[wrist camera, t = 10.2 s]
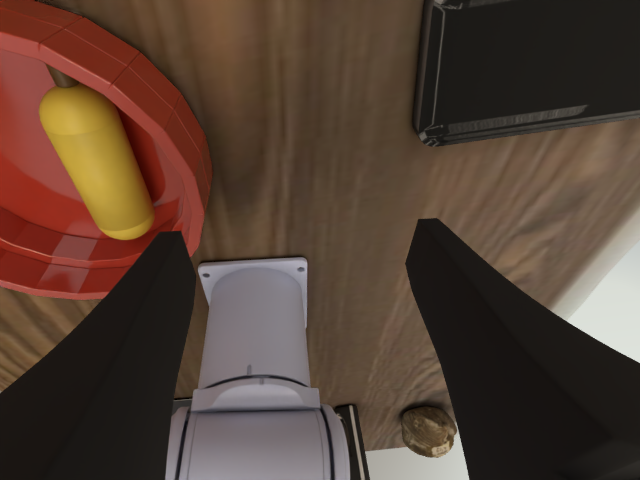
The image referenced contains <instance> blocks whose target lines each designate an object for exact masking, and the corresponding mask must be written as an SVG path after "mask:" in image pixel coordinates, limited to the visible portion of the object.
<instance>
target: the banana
mask: <svg viewBox="0 0 640 480" xmlns="http://www.w3.org/2000/svg"><path fill="white" fill-rule="evenodd" d="M45 64H46V63H45ZM46 67H47V69H48V71H49V73H50V75H51V77H52V79H53V81H54V83H55V85H56V86H54V87H52V88H51V89H50V90H48V91H47V92H46V93H45V95H44V96H43V97H42V99H41V102H40V105H39V117H40V121H41V124H42V126H43V128H44V130H45V132H46V134H47V136H48V138H49V139H50V141H51V143H52V145H53V147H54V149H55V150H56V152H57V154H58V156H59V158H60V159H61V161H62V163H63V165H64V167H65V169H66V170H67V172H68V174H69V176H70V178H71V180H72V181H73V183H74V185H75V187H76V189H77V190H78V192H79V194H80V196H81V198H82V200H83V201H84V203H85V205H86V207H87V209H88V210H89V212H90V214H91V216H92V218H93V220H94V221H95V223H96V225H97V226H98V228H99V229H100V230H101V231H102V232H104V233H105V234H106V235H108V236H110V237H112V238H115V239H119V240H130V239H135V238H138V237H140V236H142V235H143V234H145V233H146V232H147V231H148V230H149V229H150V228H151V226H152V224H153V221H154V218H155V210H154V206H153V203H152V200H151V198H150V195H149V192H148V190H147V187H146V185H145V182H144V179H143V177H142V174H141V171H140V169H139V166H138V163H137V161H136V158H135V156H134V153H133V150H132V148H131V145H130V142H129V140H128V137H127V134H126V132H125V129H124V127H123V124H122V121H121V119H120V116H119V113H118V111H117V109H116V107H115V105H114V104H113V103H112V101H111V100H110V99H108V98H107V97H106V96H105V95H103V94H102V93H100V92H98V91H96V90H94V89H92V88H90V87H89V86H87V85H85V84H82V83H80V82H79V81H77V80H76V79H74V78H72V77H70V76H68V75H66V74H64V73H63V72H61V71H59V70H57V69H55V68H53V67H51V66H50V65H48V64H46Z"/></svg>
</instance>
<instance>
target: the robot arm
mask: <svg viewBox="0 0 640 480" xmlns="http://www.w3.org/2000/svg"><path fill="white" fill-rule="evenodd" d="M405 264H406V269H407V273H408V277H409V281H410V285H411V289H412V292H413V295H414V297H415V300H416V303H417V305H418V308H419V310H420V313H421V315H422V318H423V320H424V323H425V325H426V328H427V330H428V333H429V335H430V338H431V340H432V343H433V345H434V348H435V350H436V353H437V356H438V358H439V361H440V364H441V367H442V371H443V374H444V378H445V381H446V385H447V388H448V392H449V395H450V399H451V403H452V407H453V410H454V414H455V418H456V422H457V426H458V430H459V434H460V438H461V443H462V447H463V452H464V456H465V460H466V464H467V470H468V475H469V480H640V363H638V362H637V361H635V360H633V359H631V358H629V357H627V356H625V355H623V354H621V353H619V352H618V351H616V350H614V349H612V348H610V347H609V346H607V345H605V344H603V343H602V342H600V341H598V340H596V339H595V338H593V337H591V336H590V335H588V334H586V333H585V332H583V331H581V330H580V329H578V328H576V327H575V326H573V325H571V324H570V323H568V322H567V321H565V320H563V319H562V318H560V317H559V316H557V315H556V314H554V313H553V312H551V311H550V310H548V309H547V308H546V307H544V306H543V305H541V304H540V303H538V302H537V301H535V300H534V299H532V298H531V297H530V296H528V295H527V294H526V293H524V292H523V291H522V290H520V289H519V288H518V287H516V286H515V285H514V284H513V283H511V282H510V281H509V280H508V279H506V278H505V277H504V276H502V275H501V274H500V273H499V272H498V271H496V270H495V269H494V268H493V267H492V266H490V265H489V264H488V263H487V262H486V261H485V260H483V259H482V258H481V257H480V256H479V255H478V254H477V253H475V252H474V251H473V250H472V249H471V248H470V247H469V246H468V245H467V244H465V243H464V242H463V241H462V240H461V239H460V238H459V237H458V236H457V235H456V234H454V233H453V232H452V231H451V230H450V229H449V228H448V227H447V226H446V225H444V224H443V223H442V222H441V221H440V220H439V219H437V218H433V219H418V223H417V226H416V229H415V233H414V236H413V239H412V243H411V246H410V249H409V253H408V256H407V259H406V263H405ZM300 267H302V268H300ZM198 273H199V276H200V279H201V282H202V285H203V289H204V292H205V295H206V298H207V301H208V304H209V307H210V308H209V315H208V322H207V328H206V335H205V342H204V349H203V356H202V363H201V370H200V377H199V384H198V389H195V390H194V392H193V398H192V405H191V411H190V407H180V408H179V409H178V410H177V411H176V413H175V414H174V415H173V416H172V409H173V401H174V393H175V387H176V382H177V377H178V372H179V368H180V363H181V359H182V355H183V350H184V346H185V342H186V337H187V333H188V329H189V324H190V320H191V315H192V311H193V305H194V296H195V285H196V274H195V271H194V268H193V265H192V262H191V259H190V256H189V253H188V250H187V247H186V244H185V241H184V238H183V235H182V232H181V231H164V232H159V233H158V234H157V235H156V236H155V237H154V239H153V240H152V241H151V242H150V244H149V245H148V246H147V247H146V249H145V250H144V251H143V252H142V254H141V255H140V256H139V257H138V259H137V260H136V261H135V262H134V263H133V265H132V266H131V267H130V268H129V270H128V271H127V272H126V273H125V274H124V275H123V277H122V278H121V279H120V280H119V281H118V283H117V284H116V285H115V286H114V287H113V288H112V290H111V291H110V292H109V293H108V294H107V295H106V296H105V297H104V298H103V299H102V301H101V302H100V303H99V304H98V305H97V306H96V307H95V308H94V309H93V310H92V311H91V312H90V313H89V314H88V316H87V317H86V318H85V319H84V320H83V321H82V322H81V323H80V324H79V325H78V326H77V327H76V328H75V329H74V330H73V331H72V332H71V333H70V334H69V335H68V336H66V337H65V338H64V339H63V340H62V341H61V342H60V343H59V344H58V345H57V346H56V347H55V348H54V349H53V350H51V351H50V352H49V353H48V354H47V355H46V356H45V357H44V358H42V359H41V360H40V361H39V362H38V363H36V364H35V365H34V366H33V367H32V368H30V369H29V370H28V371H27V372H26V373H24V374H23V375H22V376H21V377H20V378H18V379H17V380H16V381H15V382H14V383H12V384H11V385H10V386H9V387H8V388H6V389H5V390H4V391H3V392H1V393H0V480H350V463H349V453H348V446H347V440H346V436H345V432H344V428H343V425H342V423H341V421H340V419H339V417H338V416H337V415H336V414H335V412H334V411H333V409H332V408H331V407H330V406H329V405H327V404H320V398H319V389H318V388H311V385H310V374H309V363H308V352H307V341H306V330H305V329H306V327H307V260H306V259H305V258H303V257H295V258H278V259H261V260H243V261H226V262H209V263H201V264H199V266H198ZM205 273H208V274H205Z"/></svg>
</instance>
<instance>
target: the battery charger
mask: <svg viewBox="0 0 640 480" xmlns="http://www.w3.org/2000/svg"><path fill="white" fill-rule="evenodd" d="M334 412H335V414H336V415H337V416H338V417H339V419H340V421H341V423H342V425H343V428H344V432H345V436H346V440H347V446H348V453H349V463H350V480H370V477H369V471H368V466H367V460H366V455H365V449H364V444H363V438H362V433H361V428H360V422H359V416H358V411H357V407H356V406H352V405H349V406H346V407H340V408H336V409H335V410H334Z"/></svg>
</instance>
